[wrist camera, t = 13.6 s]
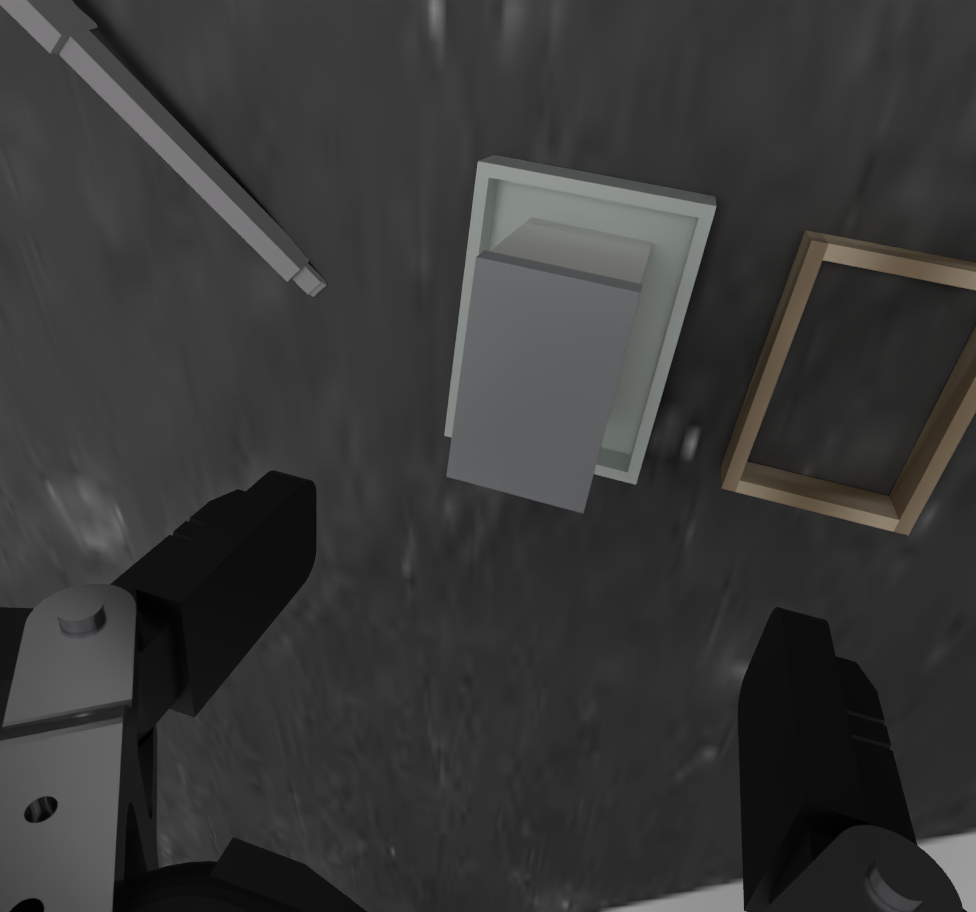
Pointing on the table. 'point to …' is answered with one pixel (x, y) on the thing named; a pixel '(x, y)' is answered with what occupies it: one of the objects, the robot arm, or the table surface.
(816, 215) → the table surface
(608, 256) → the gray rectangular box
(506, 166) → the tray
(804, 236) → the holder
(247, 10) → the table surface
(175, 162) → the caliper
